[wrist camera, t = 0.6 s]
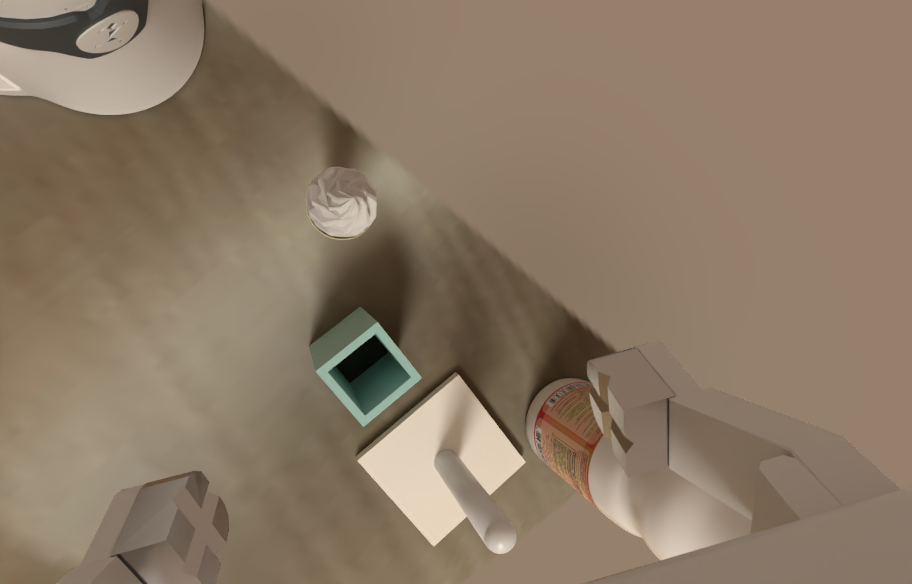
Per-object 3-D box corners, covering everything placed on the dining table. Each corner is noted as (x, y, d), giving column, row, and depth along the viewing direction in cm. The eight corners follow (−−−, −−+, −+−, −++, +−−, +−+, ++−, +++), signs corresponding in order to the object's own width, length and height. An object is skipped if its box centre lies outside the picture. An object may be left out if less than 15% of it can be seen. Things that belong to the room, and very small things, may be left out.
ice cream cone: (335, 168, 45) (360, 137, 31) (372, 215, 46) (412, 207, 32) (288, 203, 44) (291, 189, 30) (327, 251, 45) (348, 258, 31)
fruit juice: (551, 360, 54) (813, 481, 27) (616, 398, 57) (909, 541, 30) (506, 441, 53) (731, 647, 27) (575, 476, 56) (837, 691, 30)
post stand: (355, 456, 48) (387, 550, 34) (455, 371, 50) (524, 426, 36) (430, 540, 51) (488, 659, 37) (521, 458, 54) (608, 539, 39)
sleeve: (309, 346, 46) (315, 371, 37) (360, 306, 47) (377, 321, 38) (348, 392, 47) (363, 426, 39) (397, 352, 48) (422, 377, 40)
